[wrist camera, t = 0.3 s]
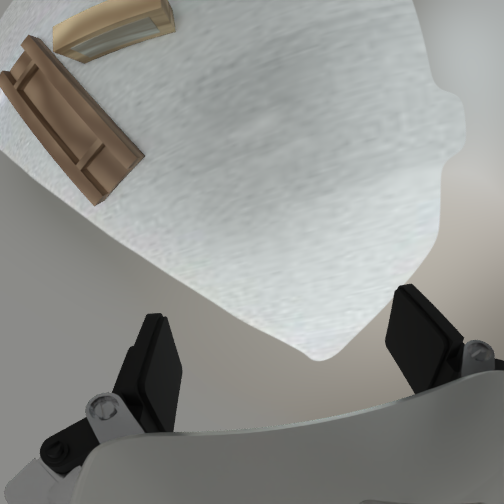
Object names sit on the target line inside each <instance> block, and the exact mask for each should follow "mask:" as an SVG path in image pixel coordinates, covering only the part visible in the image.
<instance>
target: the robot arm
mask: <svg viewBox="0 0 504 504" xmlns="http://www.w3.org/2000/svg"><path fill="white" fill-rule="evenodd" d="M463 339H464V337H463V336H462V335H461V334H460V333H459V332H458V331H457V329H456V328H455V327H454V326H453V325H452V324H451V323H450V322H449V321H448V320H447V319H446V318H445V317H444V316H443V315H442V314H441V312H440V311H439V310H438V309H437V308H436V307H435V306H434V305H433V304H432V303H431V302H430V301H429V300H428V299H427V298H426V297H425V296H424V295H423V294H422V293H421V292H420V291H419V290H418V289H417V288H416V287H415V286H414V285H413V284H407V285H401V286H399V287H398V289H397V290H395V293H394V298H393V304H392V309H391V314H390V319H389V324H388V329H387V334H386V338H385V343H386V347H387V349H388V350H389V352H390V353H391V355H392V357H393V358H394V360H395V361H396V363H397V365H398V366H399V368H400V370H401V371H402V373H403V375H404V376H405V378H406V379H407V381H408V383H409V385H410V386H411V388H412V389H413V391H414V393H415V395H412V396H409V397H406V398H402V399H400V400H396V401H393V402H389V403H386V404H382V405H379V406H375V407H371V408H368V409H364V410H359V411H355V412H351V413H347V414H343V415H338V416H333V417H328V418H323V419H317V420H312V421H306V422H300V423H293V424H286V425H279V426H271V427H262V428H252V429H241V430H226V431H204V432H173V430H174V423H175V416H176V409H177V403H178V396H179V390H180V384H181V378H182V365H181V362H180V359H179V356H178V352H177V349H176V346H175V343H174V339H173V336H172V332H171V329H170V326H169V322H168V319H167V317H163V316H162V314H161V313H154V314H147V315H146V318H145V320H144V322H143V325H142V327H141V329H140V332H139V335H138V337H137V339H136V342H135V344H134V346H132V347H130V348H129V350H128V352H127V354H126V357H125V360H124V363H123V365H122V367H121V370H120V373H119V375H118V378H117V380H116V383H115V386H114V388H113V391H112V393H109V392H107V393H101V394H98V395H96V396H95V397H93V398H92V399H91V400H90V401H89V402H88V404H87V406H86V409H85V413H86V418H84V419H82V420H80V421H78V422H77V423H75V424H73V425H71V426H69V427H67V428H66V429H64V430H62V431H60V432H58V433H56V434H55V435H53V436H51V437H49V438H48V439H46V440H45V441H44V442H43V444H42V446H41V449H40V456H41V457H40V458H39V459H38V460H37V459H36V458H34V459H33V460H32V461H31V462H30V463H28V465H26V466H25V467H24V468H23V469H22V470H21V471H20V472H19V473H18V474H17V475H16V476H15V477H14V478H13V479H12V480H11V481H10V482H8V484H7V485H6V487H5V491H4V494H5V499H6V501H7V502H8V504H504V361H503V360H499V359H495V358H494V357H495V355H494V351H493V349H492V348H491V346H490V345H489V344H487V343H485V342H483V341H480V340H471V341H469V342H467V343H466V344H464V343H463Z"/></svg>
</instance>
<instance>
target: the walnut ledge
mask: <svg viewBox="0 0 504 504" xmlns="http://www.w3.org/2000/svg"><path fill="white" fill-rule="evenodd" d="M21 46H22V47H23V49H24V50H25V51H24V52H23V54H22V55H21V56H20V58H19V59H18V60H17V62H16V63H15V65H14V66H13V67H12V69H11V70H10V72H9V71H2V72H1V74H0V87H1V89H2V90H3V92H4V93H5V95H6V96H7V98H8V99H9V101H10V102H11V104H12V105H13V106H14V108H15V109H16V111H17V112H18V113H19V115H20V116H21V117H22V119H23V120H24V122H25V123H26V124H27V126H28V127H29V128H30V130H31V131H32V132H33V134H34V135H35V136H36V137H37V139H38V140H39V141H40V143H41V144H42V145H43V146H44V148H45V149H46V150H47V151H48V153H49V154H50V155H51V156H52V158H53V159H54V160H55V161H56V163H57V164H58V165H59V166H60V167H61V169H62V170H63V171H64V172H65V173H66V175H67V176H68V177H69V178H70V179H71V180H72V182H73V183H74V184H75V185H76V186H77V187H78V189H79V190H80V191H81V192H82V193H83V194H84V195H85V196H86V198H87V199H88V200H89V201H90V202H91V203H92V204H93V205H94V206H96V205H97V204H99V203H101V202H103V201H104V200H105V199H106V198H107V197H108V196H109V194H110V193H111V192H112V191H113V190H114V189H115V188H116V187H117V185H118V184H119V183H120V182H121V181H122V180H123V179H124V178H125V177H126V176H127V175H128V173H129V172H130V171H131V170H132V169H133V168H134V167H135V166H136V165H137V164H138V163H139V162H140V161H141V160H142V159H143V158H144V157H145V155H144V154H143V153H142V152H141V151H140V150H139V149H138V148H137V147H136V146H135V145H134V143H133V142H132V141H131V140H130V139H129V138H128V137H127V136H126V135H125V134H124V132H123V131H122V130H121V129H120V128H119V127H118V126H117V125H116V124H115V123H114V121H113V120H112V119H111V118H110V117H109V116H108V115H107V114H106V113H105V112H104V110H103V109H102V108H101V107H100V106H99V105H98V104H97V103H96V102H95V100H94V99H93V98H92V97H91V96H90V95H89V94H88V93H87V91H86V90H85V89H84V88H83V87H82V86H81V85H80V84H79V83H78V81H77V80H76V79H75V78H74V77H73V76H72V75H71V74H70V72H69V71H68V70H67V69H66V68H65V67H64V66H63V64H62V63H61V62H60V61H59V60H58V59H57V58H56V57H55V55H54V54H53V53H52V52H51V51H50V50H49V49H48V47H47V46H46V45H45V44H44V43H43V42H42V41H41V39H39V38H36V37H33V36H31V35H28V36H27V37H26V39H25V40H24V41H23V42H22V44H21Z"/></svg>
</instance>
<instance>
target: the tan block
mask: <svg viewBox="0 0 504 504" xmlns="http://www.w3.org/2000/svg"><path fill="white" fill-rule="evenodd" d="M173 32H176V30H175V24H174V17H173V11H172V8H171V6H170V4H169V2H168V0H107V1H105V2H103V3H100V4H98V5H96V6H93V7H91V8H89V9H87V10H85V11H83V12H80V13H78V14H76V15H74V16H72V17H70V18H68V19H67V20H65V21H63V22H61V23H59V24H57V25H56V26H54V27H53V52H55V53H58V54H60V55H63V56H66V57H69V58H71V59H74V60H76V61H79V62H82V63H84V64H85V63H87V62H90V61H92V60H94V59H97V58H99V57H101V56H104V55H106V54H109V53H111V52H114V51H117V50H119V49H122V48H125V47H127V46H130V45H133V44H136V43H139V42H142V41H145V40H148V39H152V38H155V37H158V36H162V35H166V34H169V33H173Z"/></svg>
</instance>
